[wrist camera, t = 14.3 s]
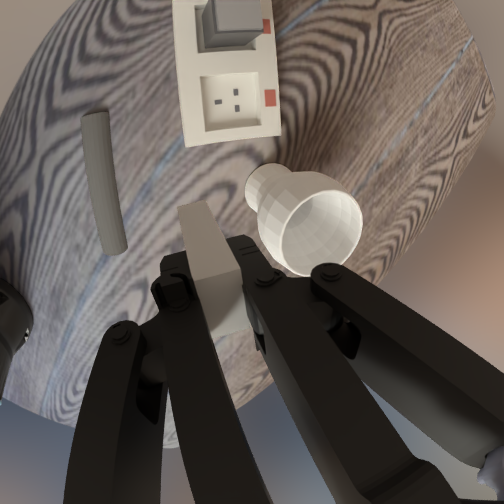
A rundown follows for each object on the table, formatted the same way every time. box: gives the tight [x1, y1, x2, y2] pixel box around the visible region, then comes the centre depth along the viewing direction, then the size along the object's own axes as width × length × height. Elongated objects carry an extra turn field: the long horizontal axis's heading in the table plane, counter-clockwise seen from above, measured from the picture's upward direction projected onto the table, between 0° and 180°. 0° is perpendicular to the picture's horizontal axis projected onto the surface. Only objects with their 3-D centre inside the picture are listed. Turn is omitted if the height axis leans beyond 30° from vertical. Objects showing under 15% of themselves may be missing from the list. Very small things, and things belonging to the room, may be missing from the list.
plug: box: [202, 0, 264, 49], centre depth 21 cm, size 5×5×8 cm
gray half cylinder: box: [81, 112, 128, 256], centre depth 30 cm, size 4×20×2 cm, turn 179°
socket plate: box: [172, 0, 281, 147], centre depth 27 cm, size 12×20×2 cm, turn 4°
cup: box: [245, 163, 363, 277], centre depth 32 cm, size 11×11×15 cm
